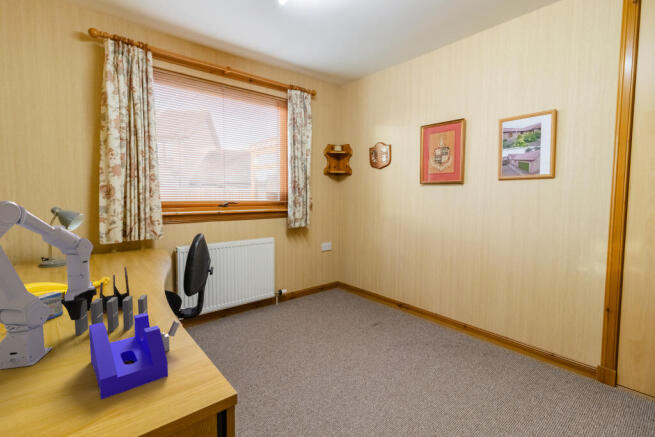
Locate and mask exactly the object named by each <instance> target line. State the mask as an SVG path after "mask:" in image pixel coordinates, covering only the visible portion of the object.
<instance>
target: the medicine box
mask: <svg viewBox="0 0 655 437" xmlns="http://www.w3.org/2000/svg"><path fill="white" fill-rule="evenodd" d="M36 296H37V297H39V299H40V300H41V302H43V303H45V304H47V305H48V307H49V309H50V313H49V317H48V318H47V320H46V321H45V322H47V321H49V320H52V319H54V318H57V317H60V316H63V315H64V311H63V309H64V308H63V307H64V305H63V304H62V303H61V300H62V299H63V293H62V292H61V291H51V292H47V293H44V294H41V295H36Z"/></svg>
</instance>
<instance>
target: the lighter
mask: <svg viewBox="0 0 655 437" xmlns="http://www.w3.org/2000/svg"><path fill="white" fill-rule="evenodd" d="M179 326H180V320H173V322H172V324H171V326H170V328H169V330H168V333H166V334H165V332H161V336H162V340H163V344H164V348H165V352H168V351H170V348H171V347H170V337H173V338H174V337H175V336H176V332H177V331H178V328H179Z"/></svg>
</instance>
